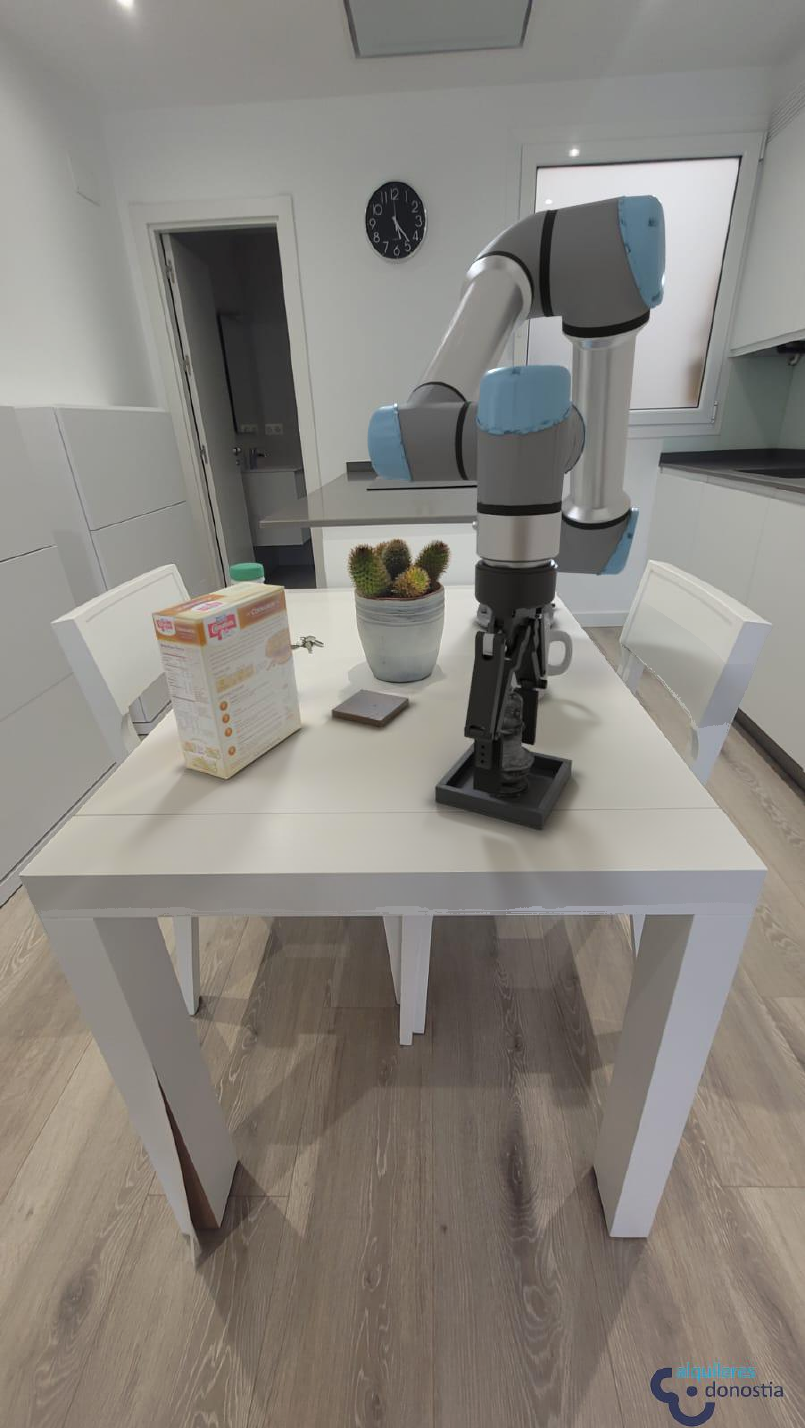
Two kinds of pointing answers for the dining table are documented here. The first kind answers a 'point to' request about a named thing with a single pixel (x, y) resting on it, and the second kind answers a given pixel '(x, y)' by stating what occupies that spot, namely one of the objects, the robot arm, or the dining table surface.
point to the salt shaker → (514, 750)
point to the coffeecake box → (229, 675)
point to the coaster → (370, 707)
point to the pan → (523, 810)
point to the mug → (550, 669)
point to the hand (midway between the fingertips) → (506, 764)
